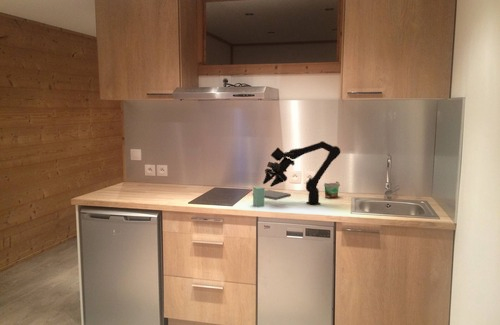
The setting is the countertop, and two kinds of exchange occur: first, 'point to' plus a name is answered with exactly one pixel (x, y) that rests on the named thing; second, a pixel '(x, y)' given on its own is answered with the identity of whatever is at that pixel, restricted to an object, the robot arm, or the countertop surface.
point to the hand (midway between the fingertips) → (267, 184)
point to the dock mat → (275, 194)
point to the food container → (331, 190)
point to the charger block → (258, 196)
